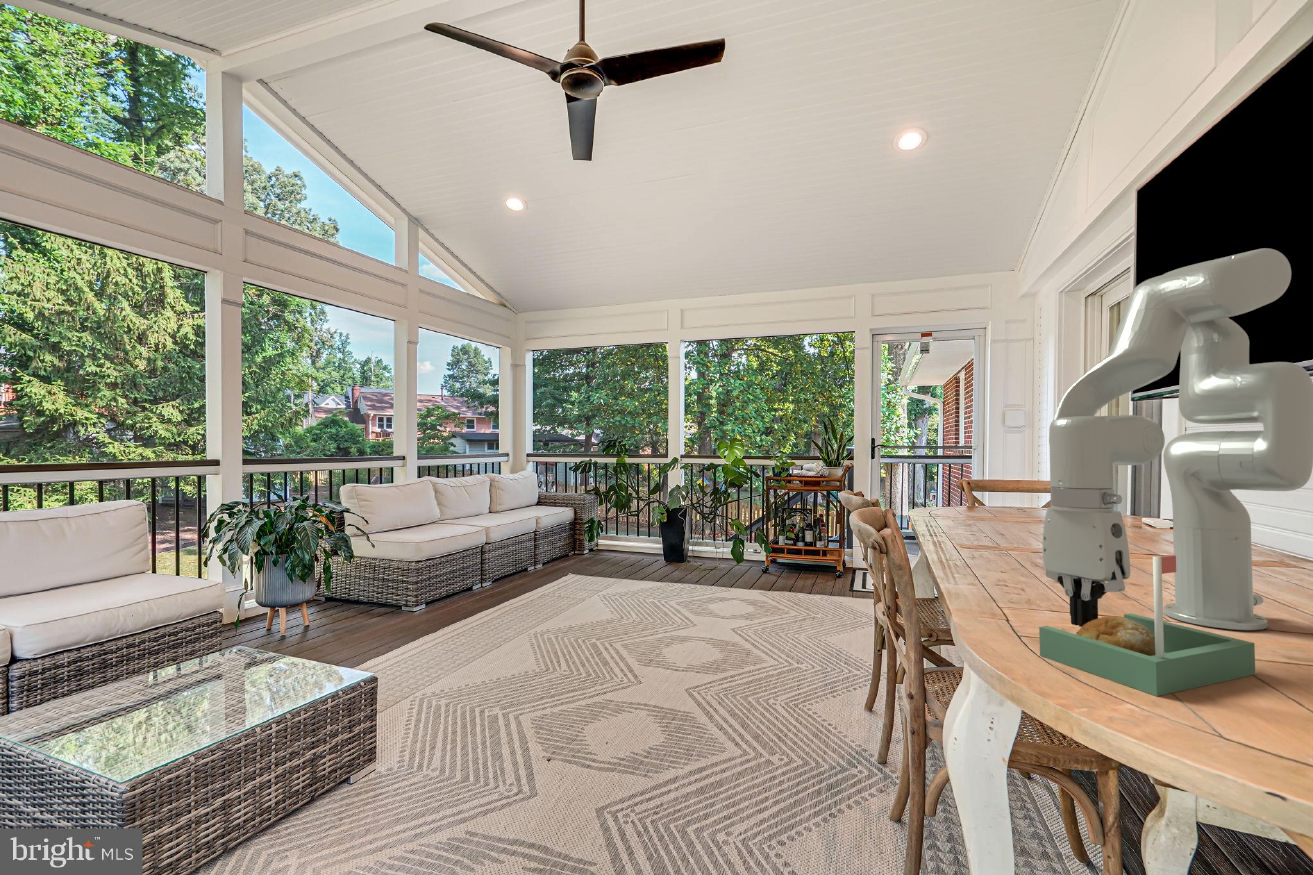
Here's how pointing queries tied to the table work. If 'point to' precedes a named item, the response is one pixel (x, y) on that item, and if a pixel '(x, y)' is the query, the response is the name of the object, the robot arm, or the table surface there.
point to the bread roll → (1120, 634)
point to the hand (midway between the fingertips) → (1084, 624)
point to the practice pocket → (1156, 651)
